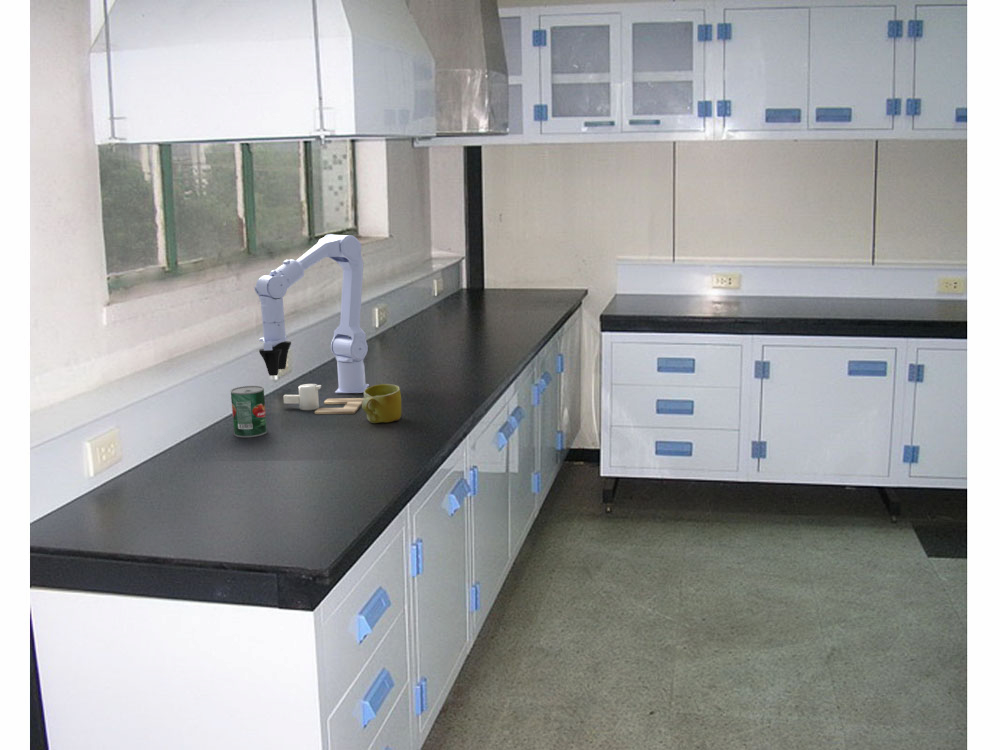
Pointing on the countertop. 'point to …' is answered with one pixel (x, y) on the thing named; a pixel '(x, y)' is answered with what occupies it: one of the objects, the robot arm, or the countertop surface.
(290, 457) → the countertop surface
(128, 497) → the countertop surface
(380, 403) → the mug
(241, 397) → the canned tomato
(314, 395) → the white piece
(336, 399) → the dock
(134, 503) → the countertop surface
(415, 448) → the countertop surface
